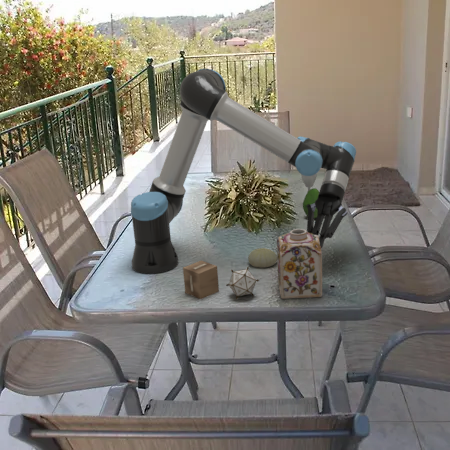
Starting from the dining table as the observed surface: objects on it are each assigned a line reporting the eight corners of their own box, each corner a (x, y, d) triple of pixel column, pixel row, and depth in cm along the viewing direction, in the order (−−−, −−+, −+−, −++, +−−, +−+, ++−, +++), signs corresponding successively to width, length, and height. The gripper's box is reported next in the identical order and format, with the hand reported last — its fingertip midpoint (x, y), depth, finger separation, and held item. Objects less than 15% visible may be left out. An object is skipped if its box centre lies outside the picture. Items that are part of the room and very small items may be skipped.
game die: (248, 309, 167) (255, 292, 159) (220, 298, 168) (225, 280, 160) (257, 284, 172) (264, 266, 164) (230, 274, 173) (236, 255, 165)
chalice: (320, 206, 245) (320, 164, 239) (314, 210, 240) (313, 167, 234) (304, 204, 249) (304, 162, 243) (297, 208, 243) (296, 166, 238)
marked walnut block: (184, 293, 171) (182, 267, 169) (203, 285, 176) (201, 259, 173) (200, 299, 166) (198, 273, 164) (218, 291, 171) (217, 265, 168)
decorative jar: (322, 298, 162) (322, 237, 157) (280, 300, 163) (278, 239, 157) (317, 280, 174) (316, 223, 168) (277, 282, 174) (275, 225, 169)
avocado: (323, 214, 234) (323, 185, 230) (323, 220, 226) (323, 190, 223) (303, 214, 235) (302, 185, 231) (302, 221, 228) (301, 191, 224)
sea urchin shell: (271, 266, 182) (254, 246, 183) (256, 279, 186) (240, 260, 188) (284, 255, 189) (268, 237, 190) (269, 269, 194) (254, 251, 195)
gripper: (356, 196, 181) (336, 265, 173) (317, 192, 188) (296, 258, 180) (350, 183, 175) (329, 254, 167) (310, 180, 182) (288, 248, 174)
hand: (312, 256), depth 173 cm, fingers closed
